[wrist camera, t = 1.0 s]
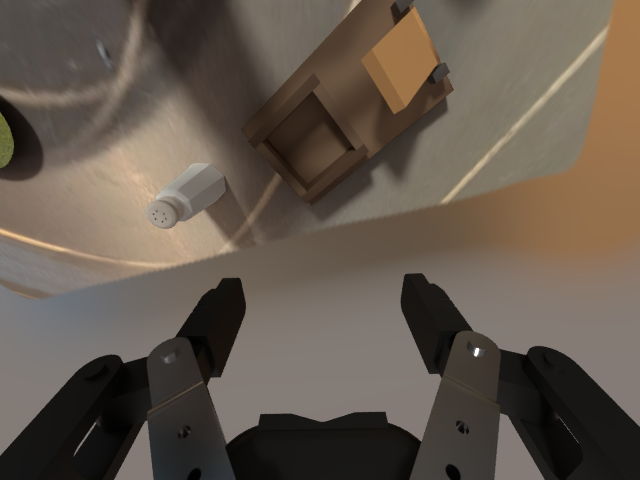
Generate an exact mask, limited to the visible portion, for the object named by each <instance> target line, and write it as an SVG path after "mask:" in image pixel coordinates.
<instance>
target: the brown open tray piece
mask: <svg viewBox="0 0 640 480" xmlns="http://www.w3.org/2000/svg"><path fill="white" fill-rule="evenodd" d="M413 1H414V0H362V1H361V2H360V3H359V4H358V5H357V6H356V7H355V8H354V9H353V10H352V11H351V12H350V13H349V14H348V16H347V17H346V18H345V19H344V20H343V21H342V22H341V23H340V24H339V25H338V26H337V27H336V28H335V29H334V31H333V32H332V33H331V34H330V35H329V36H328V37H327V38H326V39H325V40H324V41H323V42H322V43H321V44H320V46H319V47H318V48H317V49H316V50H315V51H314V52H313V53H312V54H311V55H310V56H309V57H308V58H307V59H306V61H305V62H304V63H303V64H302V65H301V66H300V67H299V68H298V69H297V70H296V71H295V72H294V73H293V75H292V76H291V77H290V78H289V79H288V80H287V81H286V82H285V83H284V84H283V85H282V86H281V87H280V88H279V90H278V91H277V92H276V93H275V94H274V95H273V96H272V97H271V98H270V99H269V100H268V101H267V102H266V103H265V105H264V106H263V107H262V108H261V109H260V110H259V111H258V112H257V113H256V114H255V115H254V116H253V117H252V118H251V120H250V121H249V122H248V123H247V124H246V125H245V126H244V127H243V128H242V129H241V130H242V131H243V132H244V133H245V134H246V135H247V136H248V137H249V138H250V139H249V140H248V142H249V143H250V144H251V145H252V146H253V147H254V148H255V149H256V150H257V151H258V152H259V153H260V154H261V156H262V157H263V158H264V159H265V160H266V161H267V162H268V163H269V164H270V165H271V166H272V167H273V168H274V169H275V171H276V172H277V173H278V174H279V175H280V176H281V177H282V178H283V179H284V180H285V181H286V182H287V183H288V184H289V186H290V187H291V188H292V189H293V190H294V191H295V192H296V193H297V194H298V195H299V196H300V197H301V198H302V199H303V201H304V202H305V203H307V202H309V203H310V204H311V205H313V204H314V203H316V202H317V201H318V200H319V199H321V198H322V197H323V196H324V195H325V194H327V193H328V192H329V191H330V190H332V189H333V188H334V187H335V186H337V185H338V184H339V183H340V182H341V181H343V180H344V179H345V178H346V177H348V176H349V175H350V174H351V173H353V172H354V171H355V170H356V169H357V168H359V167H360V166H361V165H362V164H364V163H365V162H366V161H367V160H368V159H370V158H371V157H372V156H373V155H375V154H376V153H377V152H378V151H380V150H381V149H382V148H383V147H384V146H386V145H387V144H388V143H389V142H391V141H392V140H393V139H394V138H396V137H397V136H398V135H399V134H400V133H402V132H403V131H404V130H405V129H407V128H408V127H409V126H410V125H411V124H413V123H414V122H415V121H416V120H418V119H419V118H420V117H421V116H423V115H424V114H425V113H426V112H427V111H429V110H430V109H431V108H432V107H434V106H435V105H436V104H437V103H439V102H440V101H441V100H442V99H443V98H445V97H446V96H447V95H448V94H450V93H451V92H452V91H453V90H454V89H453V87H452V85H451V83H450V81H449V79H448V77H447V74H448V73H450V71H449V69H448V67H447V65H446V63H442V64H441V62H440V61H439V62H438V63H437V65H436V66H435V68H434V69H433V70H432V72H431V73H430V75H429V76H428V77H427V79H426V80H425V81H424V83H423V84H422V86H421V87H420V88H419V90H418V91H417V93H416V94H415V95H414V97H413V98H412V99H411V101H410V102H409V104H408V105H407V106H406V108H404V109H402V110H401V111H399V112H397V113H396V114H394V113H393V112H392V110H391V109H390V107H389V105H388V104H387V102H386V100H385V99H384V97H383V95H382V94H381V92H380V91H379V89H378V87H377V86H376V84H375V82H374V81H373V79H372V78H371V76H370V74H369V73H368V71H367V69H366V68H365V66H364V65H363V63H362V61H361V59H362V58H363V57H364V56H365V55H366V54H367V53H368V52H369V51H370V50H371V49H372V48H373V47H374V46H375V45H376V44H377V43H378V42H379V41H380V40H381V39H382V38H383V37H384V36H386V35H387V34H388V33H389V32H390V31H391V30H392V29H393V28H394V27H395V26H396V25H397V24H398V23H399V22H400V21H401V20H402V19H403V18H404V17H405V16H406V15H407V14H408V13H409V12H410V11H411V10H412V9H413V8H414V6H413V4H412V2H413Z"/></svg>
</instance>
